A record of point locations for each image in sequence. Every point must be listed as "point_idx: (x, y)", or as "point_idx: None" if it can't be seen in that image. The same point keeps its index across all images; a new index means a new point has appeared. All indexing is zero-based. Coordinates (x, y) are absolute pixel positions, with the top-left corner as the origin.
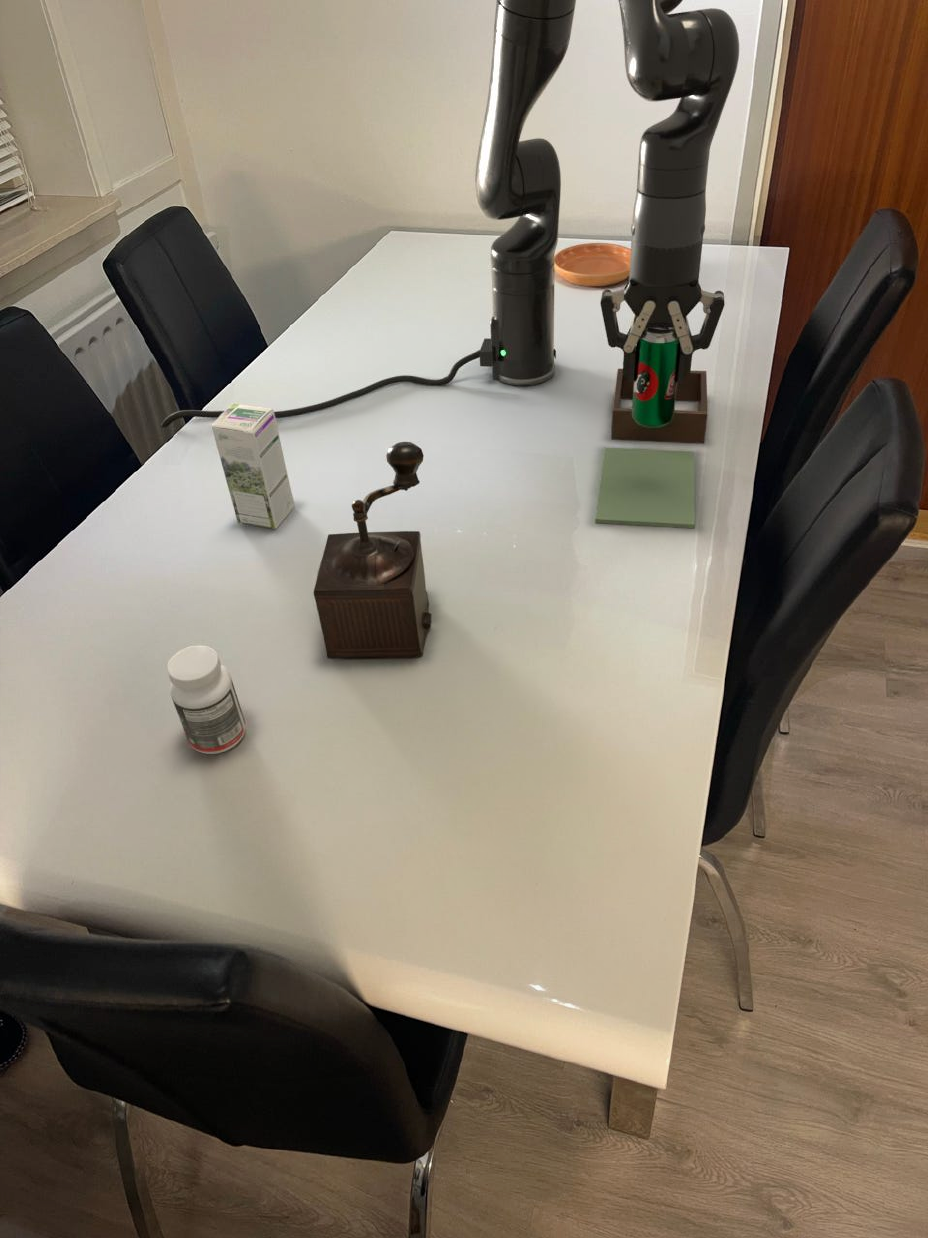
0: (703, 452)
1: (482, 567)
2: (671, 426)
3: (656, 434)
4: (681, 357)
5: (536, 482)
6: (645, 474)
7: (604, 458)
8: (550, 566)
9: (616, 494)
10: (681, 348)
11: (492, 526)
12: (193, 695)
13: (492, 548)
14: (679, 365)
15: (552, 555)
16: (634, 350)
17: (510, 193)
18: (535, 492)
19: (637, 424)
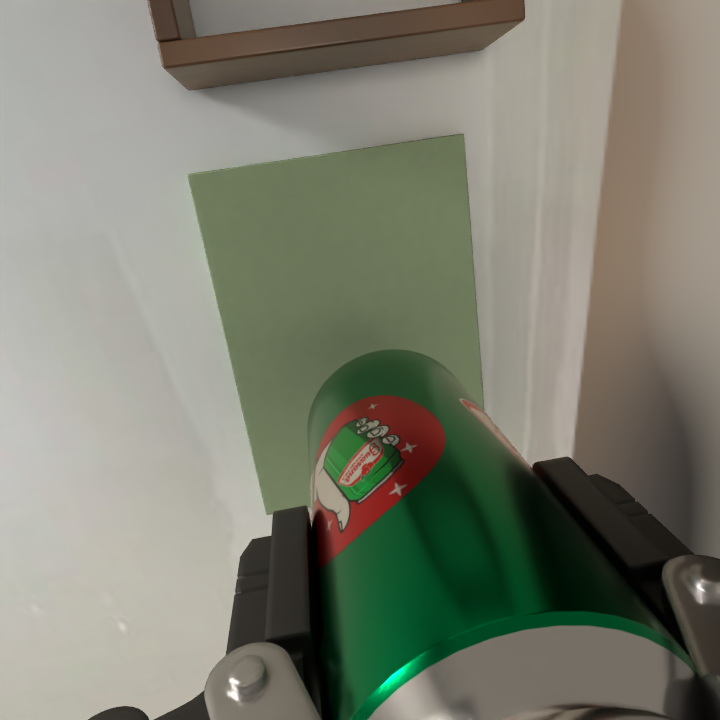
0: (485, 110)
1: (88, 698)
2: (388, 51)
3: (336, 65)
4: None
5: (57, 389)
6: (343, 298)
7: (207, 241)
8: (221, 657)
9: (289, 409)
10: (636, 592)
11: (39, 583)
12: None
13: (79, 646)
14: None
15: (213, 628)
16: (313, 701)
17: None
18: (76, 433)
19: (268, 67)
